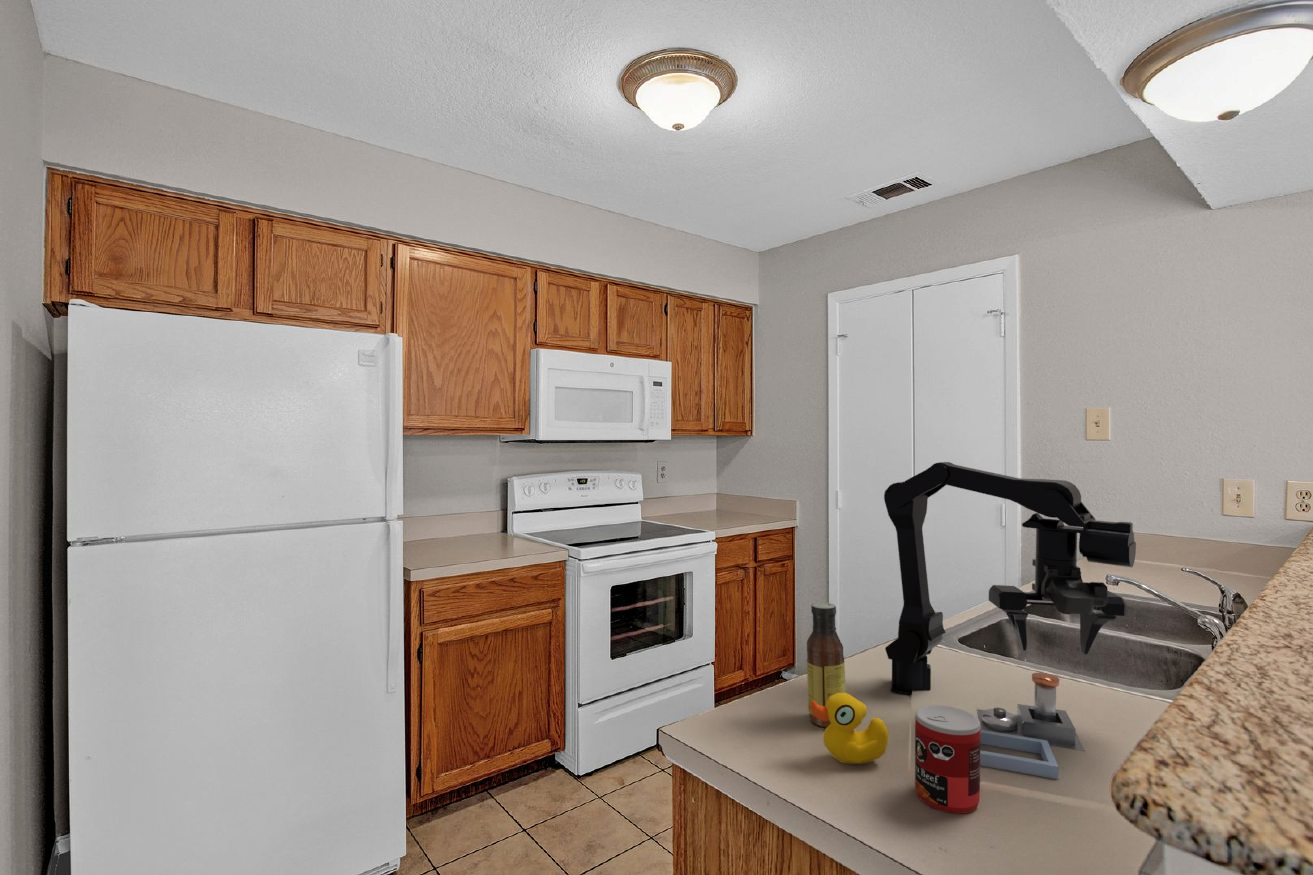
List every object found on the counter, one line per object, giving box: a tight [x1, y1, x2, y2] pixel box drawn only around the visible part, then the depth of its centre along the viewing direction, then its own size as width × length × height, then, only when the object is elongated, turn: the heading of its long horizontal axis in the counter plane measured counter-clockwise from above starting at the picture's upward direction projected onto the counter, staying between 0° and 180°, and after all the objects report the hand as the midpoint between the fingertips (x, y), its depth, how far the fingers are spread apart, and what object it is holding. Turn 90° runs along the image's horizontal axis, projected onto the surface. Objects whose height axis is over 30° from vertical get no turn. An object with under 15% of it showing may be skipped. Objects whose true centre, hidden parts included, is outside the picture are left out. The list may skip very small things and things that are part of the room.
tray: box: [980, 729, 1060, 780], centre depth 95 cm, size 11×8×2 cm
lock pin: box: [1031, 672, 1060, 723], centre depth 103 cm, size 4×4×9 cm
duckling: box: [810, 692, 889, 765], centre depth 95 cm, size 11×5×10 cm, turn 85°
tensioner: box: [976, 703, 1086, 752], centre depth 104 cm, size 14×10×3 cm
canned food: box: [914, 704, 982, 814], centre depth 86 cm, size 8×8×11 cm
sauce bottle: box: [806, 601, 847, 729], centre depth 108 cm, size 7×6×20 cm
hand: (1053, 651), depth 105 cm, fingers open, 9 cm apart
